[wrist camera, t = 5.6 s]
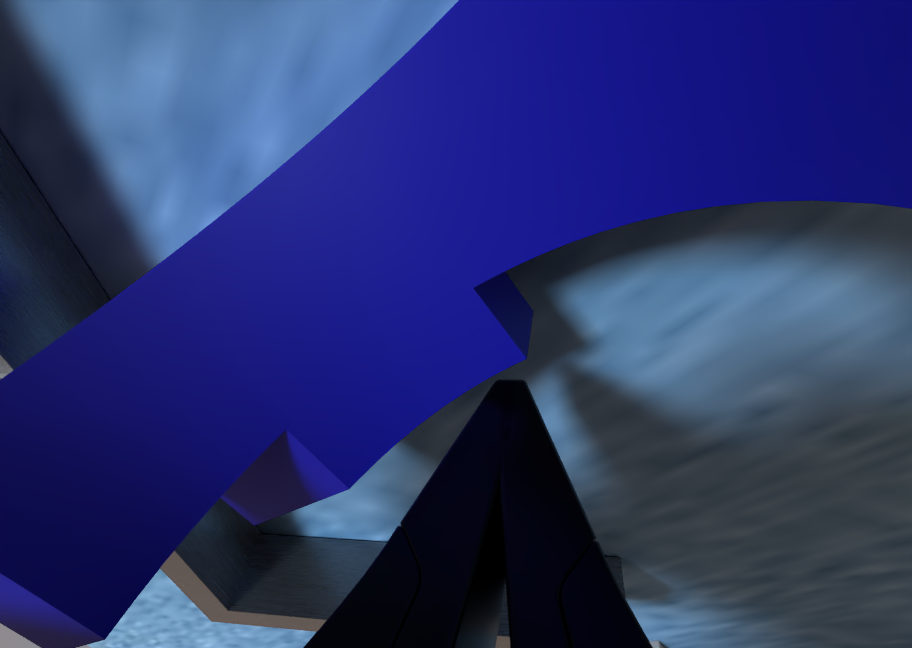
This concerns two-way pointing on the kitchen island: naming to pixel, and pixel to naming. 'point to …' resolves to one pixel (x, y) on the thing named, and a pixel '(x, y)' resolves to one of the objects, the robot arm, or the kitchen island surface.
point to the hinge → (656, 644)
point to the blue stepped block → (415, 264)
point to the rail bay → (222, 528)
